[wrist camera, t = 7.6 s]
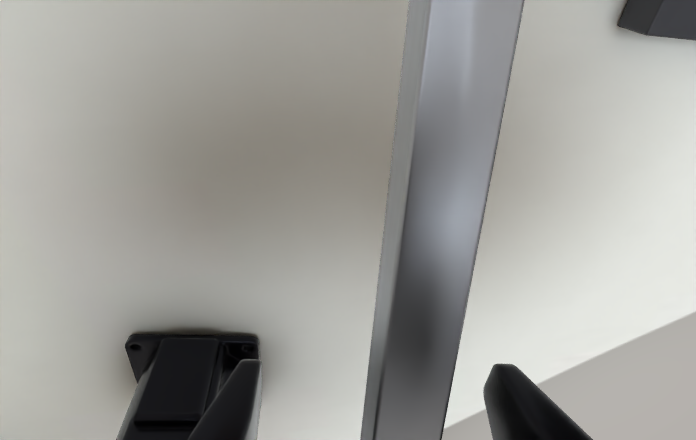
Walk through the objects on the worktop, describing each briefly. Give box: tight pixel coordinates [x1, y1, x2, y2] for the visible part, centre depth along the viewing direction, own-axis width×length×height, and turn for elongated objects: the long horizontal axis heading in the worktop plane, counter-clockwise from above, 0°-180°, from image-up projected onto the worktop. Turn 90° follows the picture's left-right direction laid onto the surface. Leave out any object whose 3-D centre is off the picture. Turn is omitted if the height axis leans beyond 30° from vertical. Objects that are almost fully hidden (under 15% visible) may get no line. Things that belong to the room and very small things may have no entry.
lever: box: [360, 0, 525, 440], centre depth 5 cm, size 16×5×2 cm, turn 175°
